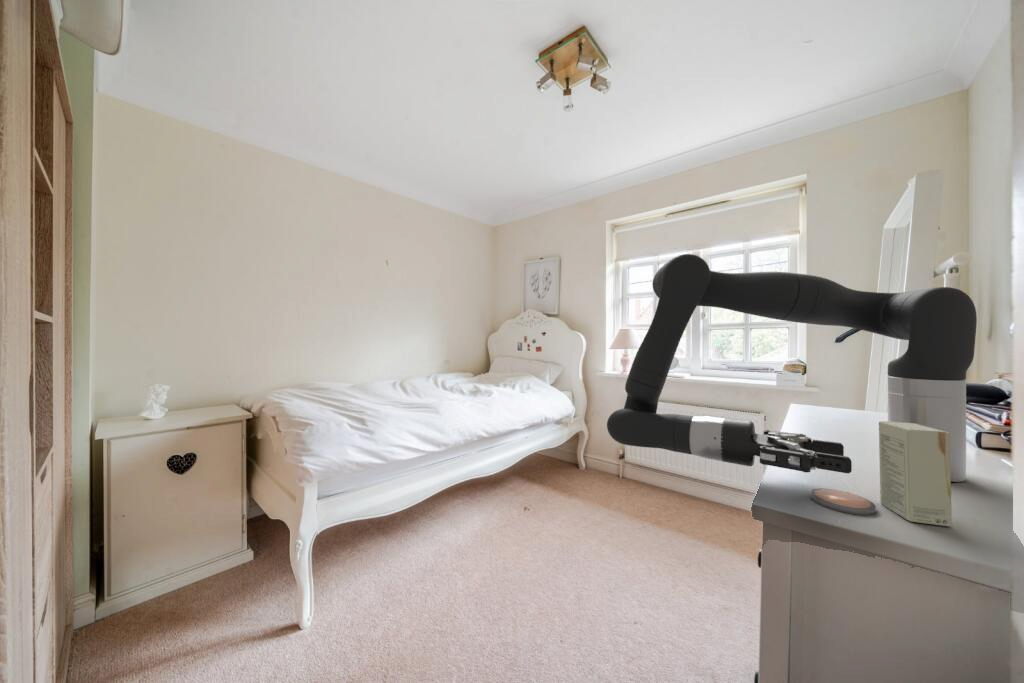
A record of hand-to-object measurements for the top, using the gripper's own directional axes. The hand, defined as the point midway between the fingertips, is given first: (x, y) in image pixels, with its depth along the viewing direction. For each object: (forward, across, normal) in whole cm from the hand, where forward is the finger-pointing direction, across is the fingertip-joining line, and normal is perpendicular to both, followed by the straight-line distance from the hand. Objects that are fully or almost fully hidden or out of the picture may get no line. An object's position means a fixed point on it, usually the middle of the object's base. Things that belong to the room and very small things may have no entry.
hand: (847, 457), depth 53 cm
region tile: (-1, -2, +6) cm, 7 cm away
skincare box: (+7, 0, +7) cm, 9 cm away
